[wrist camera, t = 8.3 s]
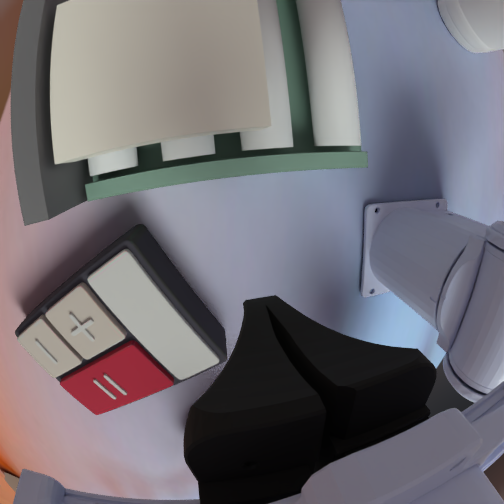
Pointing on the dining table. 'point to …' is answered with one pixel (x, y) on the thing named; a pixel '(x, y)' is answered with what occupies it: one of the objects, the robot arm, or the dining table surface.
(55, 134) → the board
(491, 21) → the bottle
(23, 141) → the roller frame
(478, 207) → the dining table surface
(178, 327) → the calculator
